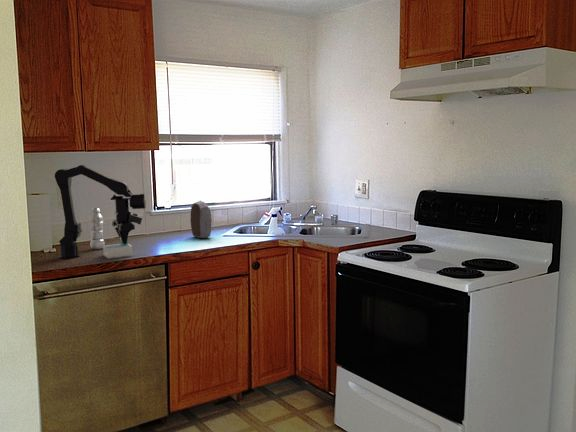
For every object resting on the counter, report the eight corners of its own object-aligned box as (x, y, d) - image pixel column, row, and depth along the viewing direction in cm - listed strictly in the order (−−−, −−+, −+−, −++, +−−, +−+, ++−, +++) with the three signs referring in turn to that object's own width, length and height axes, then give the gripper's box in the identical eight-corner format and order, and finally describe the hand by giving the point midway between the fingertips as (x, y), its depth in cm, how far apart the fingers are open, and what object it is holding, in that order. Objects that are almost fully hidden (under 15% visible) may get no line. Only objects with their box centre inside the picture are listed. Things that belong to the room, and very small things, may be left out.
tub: (107, 258, 245) (107, 248, 245) (103, 255, 253) (103, 245, 253) (132, 255, 251) (132, 245, 250) (128, 252, 258) (127, 243, 258)
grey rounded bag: (189, 236, 303) (188, 200, 300) (203, 235, 308) (201, 199, 305) (202, 240, 291) (201, 202, 288) (216, 238, 296) (215, 201, 293)
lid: (108, 249, 246) (108, 239, 246) (105, 246, 252) (105, 237, 252) (129, 247, 250) (129, 237, 250) (126, 244, 257) (125, 235, 256)
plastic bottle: (88, 249, 269) (85, 208, 267) (101, 247, 274) (99, 207, 271) (94, 251, 265) (91, 209, 262) (107, 249, 269) (105, 208, 267)
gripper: (145, 210, 246) (147, 244, 248) (135, 206, 263) (136, 239, 265) (119, 211, 241) (121, 247, 243) (111, 208, 257) (112, 241, 259)
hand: (124, 243), depth 253 cm, fingers open, 3 cm apart
